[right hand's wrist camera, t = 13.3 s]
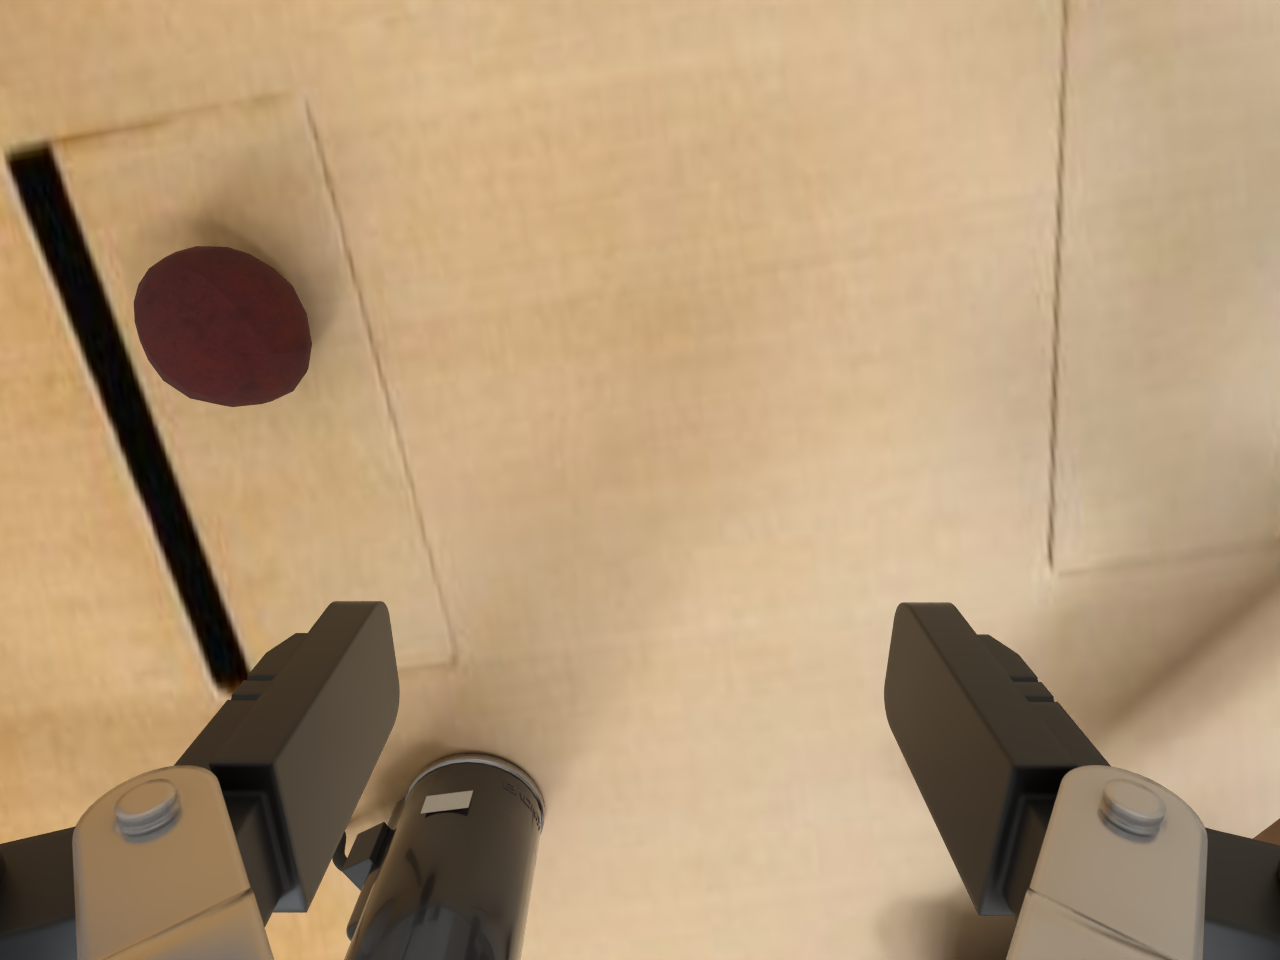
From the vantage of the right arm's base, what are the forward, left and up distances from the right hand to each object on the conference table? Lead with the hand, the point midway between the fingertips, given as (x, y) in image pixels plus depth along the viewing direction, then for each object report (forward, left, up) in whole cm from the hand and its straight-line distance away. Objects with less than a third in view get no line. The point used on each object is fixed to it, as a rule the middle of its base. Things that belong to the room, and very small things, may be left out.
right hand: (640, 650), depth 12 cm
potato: (-17, +10, -29) cm, 35 cm away
